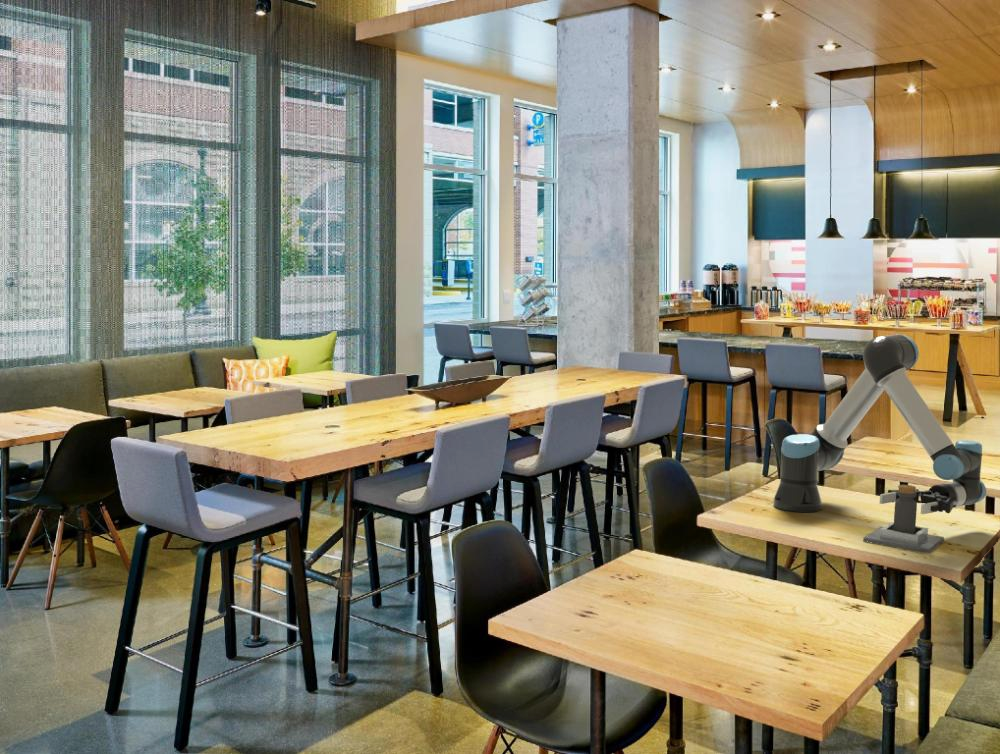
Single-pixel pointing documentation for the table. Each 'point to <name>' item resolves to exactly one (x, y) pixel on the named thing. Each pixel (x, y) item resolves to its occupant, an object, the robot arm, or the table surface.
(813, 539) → the table surface
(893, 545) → the collar plate
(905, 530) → the bottle
